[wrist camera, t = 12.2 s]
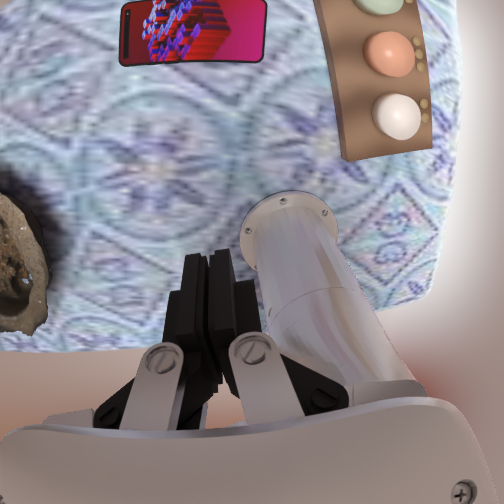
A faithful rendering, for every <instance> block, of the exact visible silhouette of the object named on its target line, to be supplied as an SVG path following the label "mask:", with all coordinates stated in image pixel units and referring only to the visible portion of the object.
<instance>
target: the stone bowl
mask: <svg viewBox="0 0 504 504" xmlns="http://www.w3.org/2000/svg"><path fill="white" fill-rule="evenodd" d="M29 274H31V276H32V279H33V280H32V279H30V277H29ZM52 276H53V275H52V272H51V271H50V261H49V257H48V255H47V252H46V250H45V248H44V245H43V235H42V228H41V226H40V224H39V222H38V220H37V218H36V217H35V216H34V214H33V213H32V212H31V211H30V210H28V209H27V208H26V207H25V206H24V205H23V203H22V202H21V201H19V200H18V199H16V198H14V197H12V196H9V195H6V194H3V193H0V332H4V331H6V332H15V331H17V330H18V331H22V333H23V334H27V335H28V336H29V335H30V336H31V337H32V336H33V333H34V331H36V329H37V327H39V326H40V325H41V324H42V323H43V324H45V322H46V320H47V317H48V306H47V298H46V290H47V288H48V286H49V285H50V283H51V280H52ZM23 278H26V279H28V281H29V283H28V284H25V283H24V282H23V281H22V279H23Z"/></svg>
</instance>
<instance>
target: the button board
mask: <svg viewBox="0 0 504 504" xmlns="http://www.w3.org/2000/svg"><path fill="white" fill-rule="evenodd" d="M313 2H314V6H315V10H316V14H317V18H318V22H319V26H320V31H321V35H322V40H323V44H324V49H325V54H326V59H327V64H328V69H329V74H330V80H331V86H332V91H333V98H334V104H335V110H336V117H337V124H338V131H339V139H340V147H341V156H342V158H344V159H345V160H346V161H347V162H351V161H356V160H362V159H368V158H373V157H379V156H385V155H391V154H397V153H404V152H410V151H417V150H424V149H432V113H431V96H430V84H429V74H428V65H427V57H426V50H425V43H424V37H423V31H422V26H421V21H420V16H419V11H418V6H417V2H416V0H404V1H403V5H402V7H401V9H400V10H399V11H397V12H395V13H391V14H386V15H381V16H374V15H370V14H367V13H365V12H364V11H362V10H361V9H360V8H359V7H358V6H357V5H356V4H355V3H354V1H353V0H313ZM390 31H392V32H397V33H400V34H401V35H403V36H404V37H406V38H407V39H408V40H409V42H410V43H411V45H412V47H413V49H414V53H415V63H414V66H413V68H412V70H411V71H410V72H409V73H408V74H407V75H405V76H402V77H393V76H387V75H381V74H378V73H376V72H375V71H373V70H372V69H371V68H370V67H369V65H368V64H367V62H366V60H365V57H364V52H363V48H364V44H365V41H366V40H367V38H368V37H369V36H371V35H372V34H374V33H379V32H390ZM389 92H392V93H397V94H401V95H404V96H408V97H410V98H411V99H413V100H414V101H415V102H416V103H417V105H418V107H419V109H420V113H421V122H420V126H419V129H418V130H417V132H416V133H415V134H414V135H413V136H412V137H411V138H409V139H406V140H397V139H394V138H392V137H391V136H389V135H387V134H385V133H383V132H381V131H380V130H379V129H378V128H377V127H376V125H375V123H374V121H373V116H372V110H373V106H374V103H375V101H376V100H377V99H378V98H379V97H380V96H381V95H383V94H385V93H389Z"/></svg>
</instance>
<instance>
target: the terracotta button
mask: <svg viewBox="0 0 504 504" xmlns="http://www.w3.org/2000/svg"><path fill="white" fill-rule="evenodd" d="M363 52H364V57H365V60H366V62H367V64H368V65H369V67H370V68H371V69H372V70H373V71H375V72H376V73H378V74H381V75H387V76H393V77H402V76H405V75H407V74H408V73H409V72H410V71H411V70H412V68H413V66H414V63H415V53H414V49H413V47H412V45H411V43H410V42H409V40H408V39H407V38H406V37H404V36H403V35H401V34H400V33H397V32H392V31H390V32H379V33H374V34H372V35H371V36H369V37H368V38H367V40H366V41H365V44H364V48H363Z"/></svg>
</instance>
